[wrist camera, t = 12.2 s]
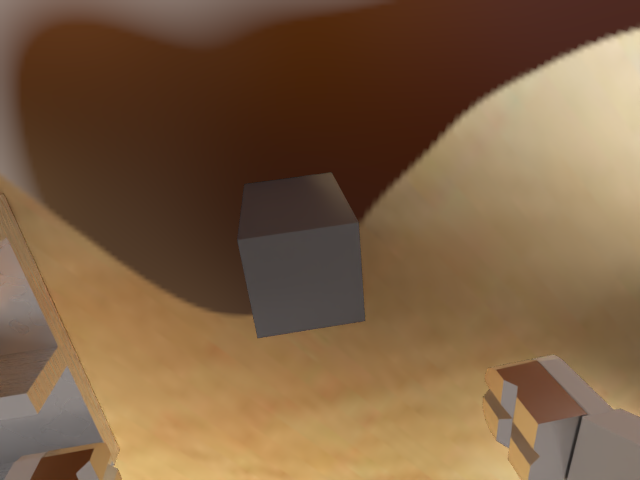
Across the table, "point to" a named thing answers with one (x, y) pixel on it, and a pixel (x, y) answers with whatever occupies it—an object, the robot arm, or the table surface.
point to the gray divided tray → (38, 364)
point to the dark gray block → (300, 255)
